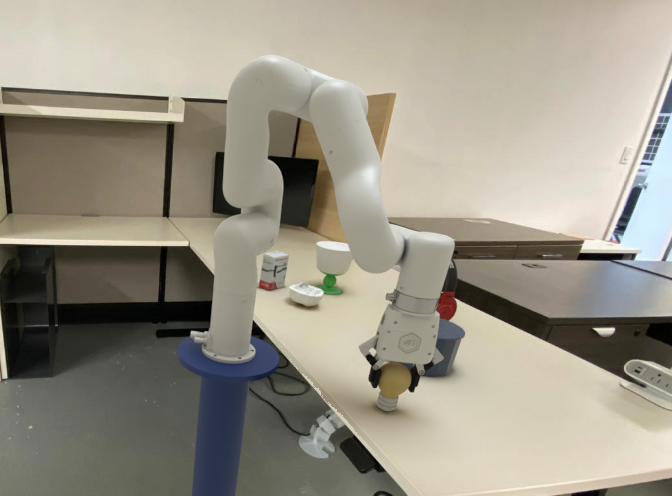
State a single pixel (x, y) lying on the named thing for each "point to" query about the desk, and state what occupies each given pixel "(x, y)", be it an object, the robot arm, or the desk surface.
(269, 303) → the desk surface
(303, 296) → the cell model
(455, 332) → the pot lid
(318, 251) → the cup
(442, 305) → the headphones
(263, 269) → the ink box
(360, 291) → the desk surface
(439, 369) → the pot
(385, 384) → the light bulb
